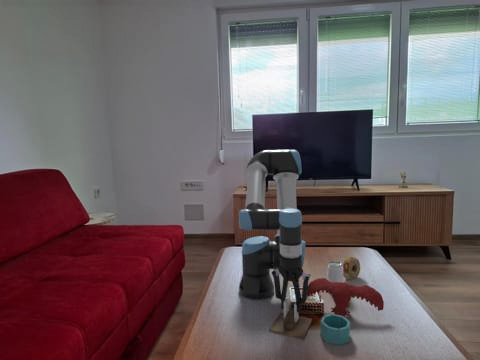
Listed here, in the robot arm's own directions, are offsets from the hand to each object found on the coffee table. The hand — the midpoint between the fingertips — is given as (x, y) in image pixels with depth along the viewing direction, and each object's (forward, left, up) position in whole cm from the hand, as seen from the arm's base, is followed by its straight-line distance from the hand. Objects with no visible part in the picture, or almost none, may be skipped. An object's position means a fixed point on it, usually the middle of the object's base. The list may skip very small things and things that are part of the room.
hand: (291, 318), depth 112 cm
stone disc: (+15, +47, -3) cm, 49 cm away
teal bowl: (+15, 0, -3) cm, 15 cm away
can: (+10, +32, -3) cm, 34 cm away
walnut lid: (0, 0, -3) cm, 3 cm away
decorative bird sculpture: (+15, +16, -3) cm, 22 cm away
